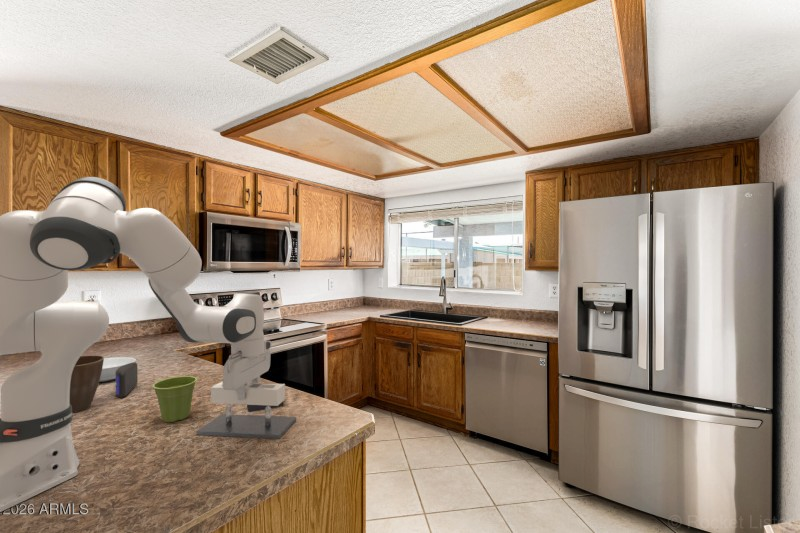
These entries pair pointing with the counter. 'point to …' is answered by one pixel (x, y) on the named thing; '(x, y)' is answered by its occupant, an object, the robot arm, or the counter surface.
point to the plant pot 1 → (85, 381)
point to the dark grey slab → (126, 379)
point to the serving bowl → (113, 367)
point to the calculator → (261, 407)
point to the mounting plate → (247, 425)
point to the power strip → (250, 394)
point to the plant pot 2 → (175, 397)
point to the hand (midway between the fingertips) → (248, 395)
